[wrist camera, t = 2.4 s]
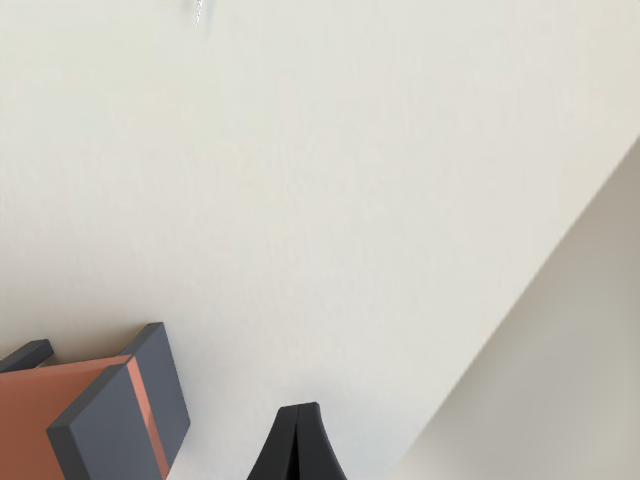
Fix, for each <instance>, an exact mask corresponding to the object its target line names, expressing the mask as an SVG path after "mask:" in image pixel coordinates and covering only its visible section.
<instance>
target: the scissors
mask: <svg viewBox="0 0 640 480" xmlns="http://www.w3.org/2000/svg"><path fill="white" fill-rule="evenodd" d="M201 4H202V0H198V7H197V24H198V19H199V14H200V9H201Z"/></svg>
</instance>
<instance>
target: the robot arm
mask: <svg viewBox="0 0 640 480" xmlns="http://www.w3.org/2000/svg"><path fill="white" fill-rule="evenodd" d="M247 480H347V479H346V477H345V475H344V473H343V471H342V469H341V467H340V465H339V463H338V461H337V458H336V456H335V454H334V452H333V449H332V447H331V445H330V442H329V440H328V437H327V435H326V432H325V429H324V426H323V423H322V419H321V413H320V407H319V404H318V403H316V402H312V403H305V404H298V405H292V406H285V407H281V408H280V409H279V410H278V413H277V416H276V418H275V421H274V423H273V426H272V428H271V431H270V433H269V435H268V438H267V440H266V442H265V444H264V446H263V448H262V451H261V453H260V455H259V457H258V459H257V461H256V463H255V465H254V467H253V469H252V471H251V473H250V474H249V476H248V478H247Z"/></svg>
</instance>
